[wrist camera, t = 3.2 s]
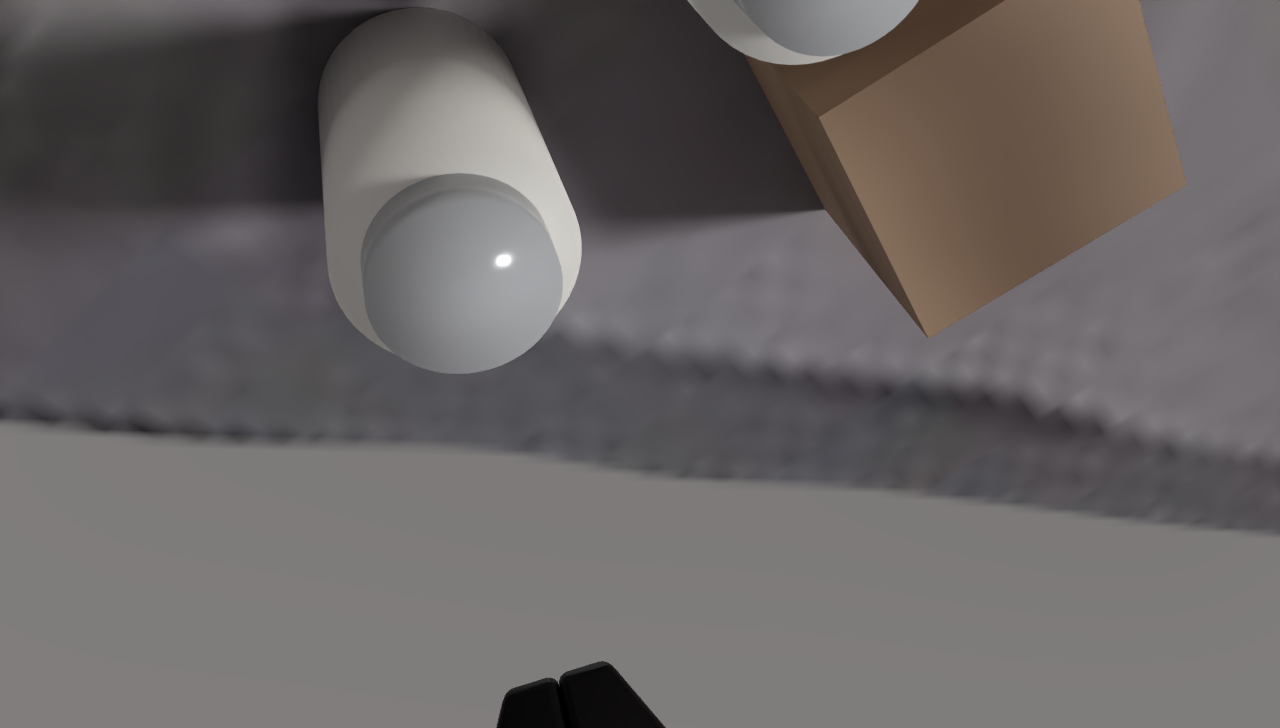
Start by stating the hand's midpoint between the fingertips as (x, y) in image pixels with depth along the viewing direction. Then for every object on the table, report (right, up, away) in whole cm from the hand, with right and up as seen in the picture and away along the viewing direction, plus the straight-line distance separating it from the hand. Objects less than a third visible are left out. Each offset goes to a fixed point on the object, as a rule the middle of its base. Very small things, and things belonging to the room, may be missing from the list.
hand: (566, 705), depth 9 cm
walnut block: (+5, +8, +11) cm, 15 cm away
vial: (-3, +7, +10) cm, 12 cm away
